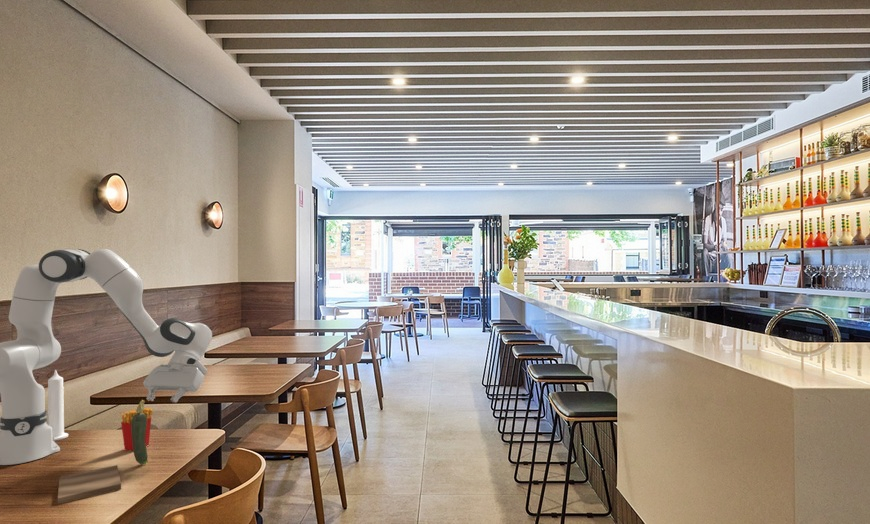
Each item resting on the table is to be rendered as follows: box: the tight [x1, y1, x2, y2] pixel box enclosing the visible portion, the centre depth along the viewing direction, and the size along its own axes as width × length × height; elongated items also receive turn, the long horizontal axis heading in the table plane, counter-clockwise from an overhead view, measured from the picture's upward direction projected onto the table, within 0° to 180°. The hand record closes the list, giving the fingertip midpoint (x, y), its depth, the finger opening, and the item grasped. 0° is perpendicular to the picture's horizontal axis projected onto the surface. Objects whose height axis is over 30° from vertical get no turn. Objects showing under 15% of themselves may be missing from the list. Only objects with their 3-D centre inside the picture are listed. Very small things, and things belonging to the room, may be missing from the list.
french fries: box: [120, 407, 153, 450], centre depth 172 cm, size 9×4×13 cm, turn 131°
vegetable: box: [131, 399, 148, 466], centre depth 156 cm, size 4×4×20 cm
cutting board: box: [57, 464, 122, 505], centre depth 141 cm, size 17×14×2 cm
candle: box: [47, 369, 69, 442], centre depth 184 cm, size 7×7×25 cm
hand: (161, 400), depth 164 cm, fingers open, 8 cm apart
